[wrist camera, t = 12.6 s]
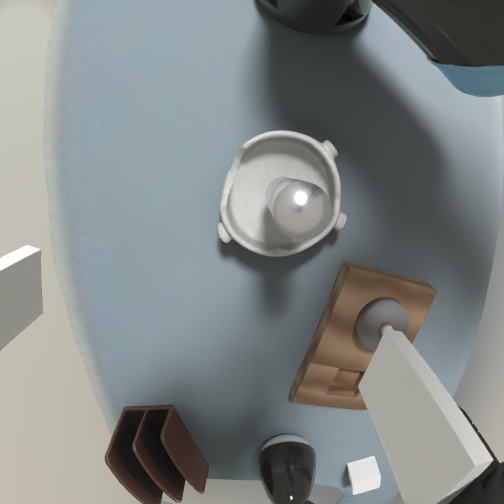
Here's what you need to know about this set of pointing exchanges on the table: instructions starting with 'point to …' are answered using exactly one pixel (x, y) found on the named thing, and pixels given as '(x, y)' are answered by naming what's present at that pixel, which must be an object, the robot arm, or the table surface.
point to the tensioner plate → (340, 336)
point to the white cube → (364, 475)
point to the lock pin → (298, 207)
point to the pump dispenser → (287, 469)
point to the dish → (257, 180)
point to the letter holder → (155, 454)
